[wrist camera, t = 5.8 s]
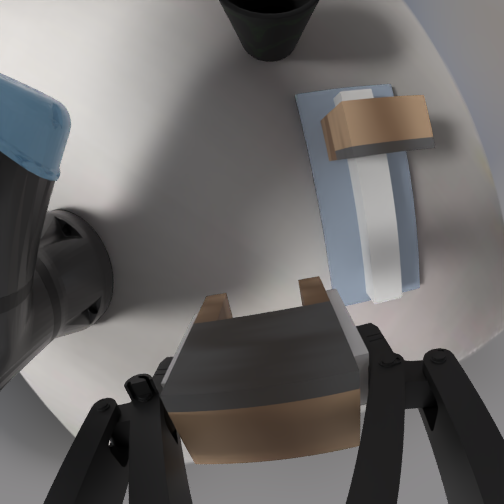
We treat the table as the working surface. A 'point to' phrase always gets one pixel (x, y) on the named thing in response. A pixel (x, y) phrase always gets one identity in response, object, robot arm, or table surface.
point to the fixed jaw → (377, 127)
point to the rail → (345, 205)
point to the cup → (269, 25)
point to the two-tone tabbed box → (265, 383)
